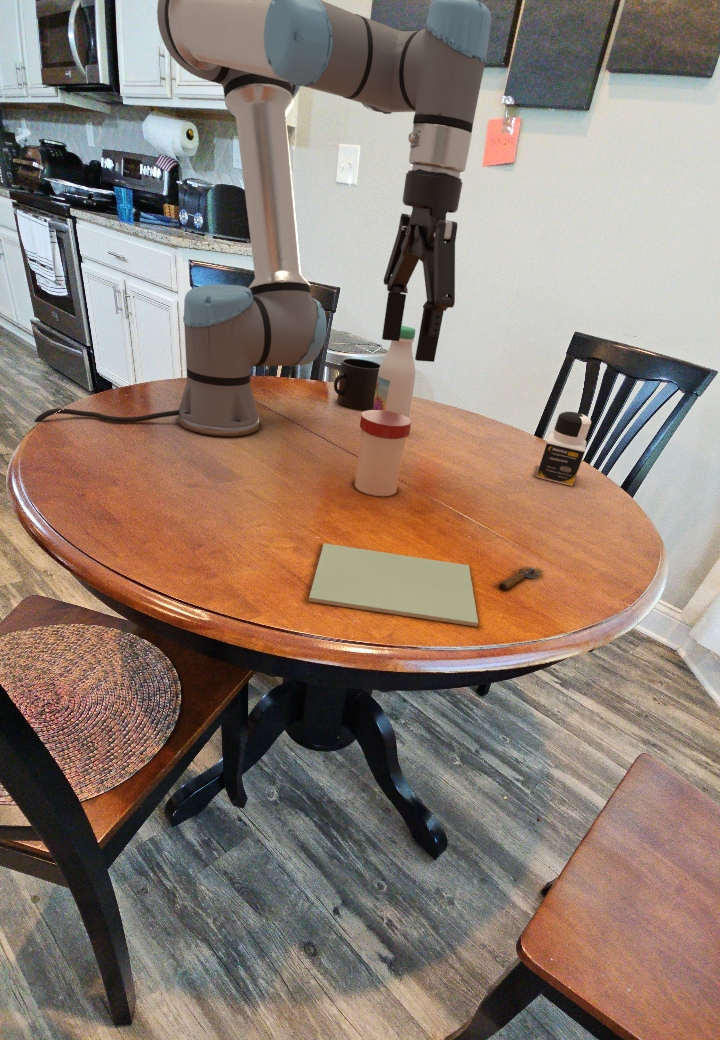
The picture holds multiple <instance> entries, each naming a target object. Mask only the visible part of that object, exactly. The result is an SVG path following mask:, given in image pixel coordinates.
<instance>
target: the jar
mask: <svg viewBox="0 0 720 1040" xmlns="http://www.w3.org/2000/svg"><path fill="white" fill-rule="evenodd" d="M406 440H407V437H403V438H385V437H379V436H375V435H372V434H369V433H367V432H365V431H363V430H362V429H361V433H360V441H359V448H358V456H357V464H356V472H355V479H354V487H355V489H357V491H359V492H361V493H364V494H367V495H369V496H375V497H389V496H393V495H395V494H396V493H397V491H398V486H399V480H400V475H401V468H402V463H403V457H404V452H405V446H406Z"/></svg>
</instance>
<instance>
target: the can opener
mask: <svg viewBox="0 0 720 1040" xmlns="http://www.w3.org/2000/svg"><path fill="white" fill-rule="evenodd" d="M535 570H536V569H535V568H534V567H532V566H531V567H530V568H529V569H527V570H526V571H524V568H519V570H518V573H517V574H516V575H514V576H512V577H509V578H507V579H506V580H504V581H502V582H501V583H500V584H499V585H498V589H500V590H501V591H503V592H505V591H507V590H509V589H511V588H512V587H514V586H515V585H516V584H519V583H520V582H521V581H523V580H524V579H525V578H528V579H531V580H534V579H537V578H538V577H539V575H540V572H539V570H538V571H536V572H535ZM532 573H533V574H532Z"/></svg>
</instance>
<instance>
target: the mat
mask: <svg viewBox="0 0 720 1040" xmlns="http://www.w3.org/2000/svg"><path fill="white" fill-rule="evenodd" d="M308 602H310V603H316V604H323V605H329V606H337V607H343V608H348V609H349V608H350V609H355V610H362V611H370V612H376V613H383V614H384V613H385V614H390V615H397V616H402V617H410V618H416V619H422V620H430V621H436V622H442V623H449V624H456V625H463V626H469V627H478V626H479V619H478V612H477V607H476V606H477V605H476V600H475V593H474V588H473V583H472V576H471V569H470V565H469V564H463V563H456V562H450V561H443V560H437V559H431V558H430V559H429V558H425V557H424V558H423V557H417V556H412V555H411V556H410V555H403V554H397V553H390V552H384V551H378V550H371V549H370V550H369V549H364V548H358V547H351V546H345V545H338V544H331V543H323V544H322V548H321V552H320V556H319V560H318V562H317V566H316V570H315V575H314V578H313V581H312V586H311V589H310V593H309V596H308Z"/></svg>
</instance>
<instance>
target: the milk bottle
mask: <svg viewBox="0 0 720 1040" xmlns="http://www.w3.org/2000/svg"><path fill="white" fill-rule="evenodd" d="M415 337H416V329H415V328H414V327H410V326H406V325H402V326H401V332H400V339H399V341H392V340H390V341H391V343H390V345H389V348H388V350H387V352H386V354H385V356H384V357H383V359H382V360H381V363H380V368H379V372H378V378H377V384H376V391H375V398H374V405H373V409H372V410H384V411H390V412H395V413H398V414H401V415H404V416H406V417H408V418H409V419H410V417H409V416H410V412H411V405H412V401H413V393H414V388H415V381H416V364H415V359H414V356H413V355H414V354H413V342H415Z"/></svg>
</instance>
